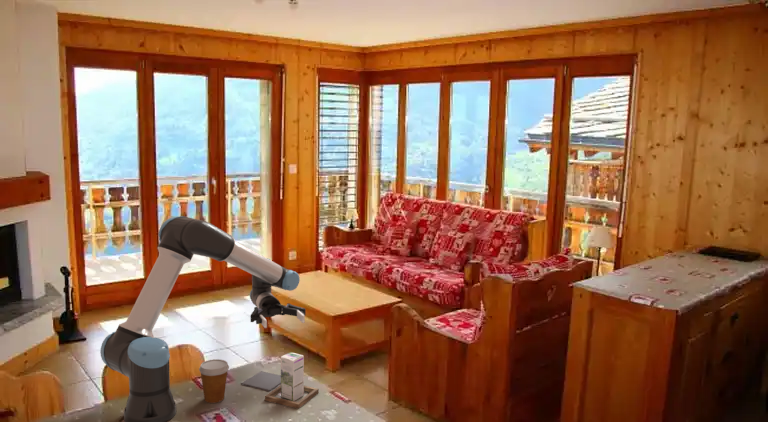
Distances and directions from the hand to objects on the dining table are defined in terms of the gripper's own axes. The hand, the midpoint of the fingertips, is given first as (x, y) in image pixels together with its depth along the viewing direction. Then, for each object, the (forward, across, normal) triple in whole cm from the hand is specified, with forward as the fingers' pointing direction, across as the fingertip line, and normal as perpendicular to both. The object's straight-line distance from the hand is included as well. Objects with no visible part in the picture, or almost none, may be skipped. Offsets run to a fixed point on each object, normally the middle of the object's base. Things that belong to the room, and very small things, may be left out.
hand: (285, 321), depth 206 cm
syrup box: (+10, +1, -23) cm, 25 cm away
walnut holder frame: (+10, +1, -23) cm, 25 cm away
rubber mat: (-5, +6, -23) cm, 24 cm away
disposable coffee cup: (+2, +25, -23) cm, 34 cm away
